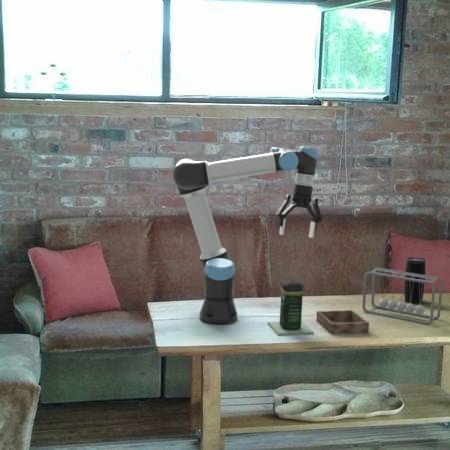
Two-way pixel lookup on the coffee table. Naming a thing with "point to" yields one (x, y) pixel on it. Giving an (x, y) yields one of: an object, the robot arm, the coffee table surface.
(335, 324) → the walnut caddy
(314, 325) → the coffee table surface
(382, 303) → the newton's cradle
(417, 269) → the portable speaker
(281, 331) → the sage mat
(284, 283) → the coffee jar
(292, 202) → the robot arm
